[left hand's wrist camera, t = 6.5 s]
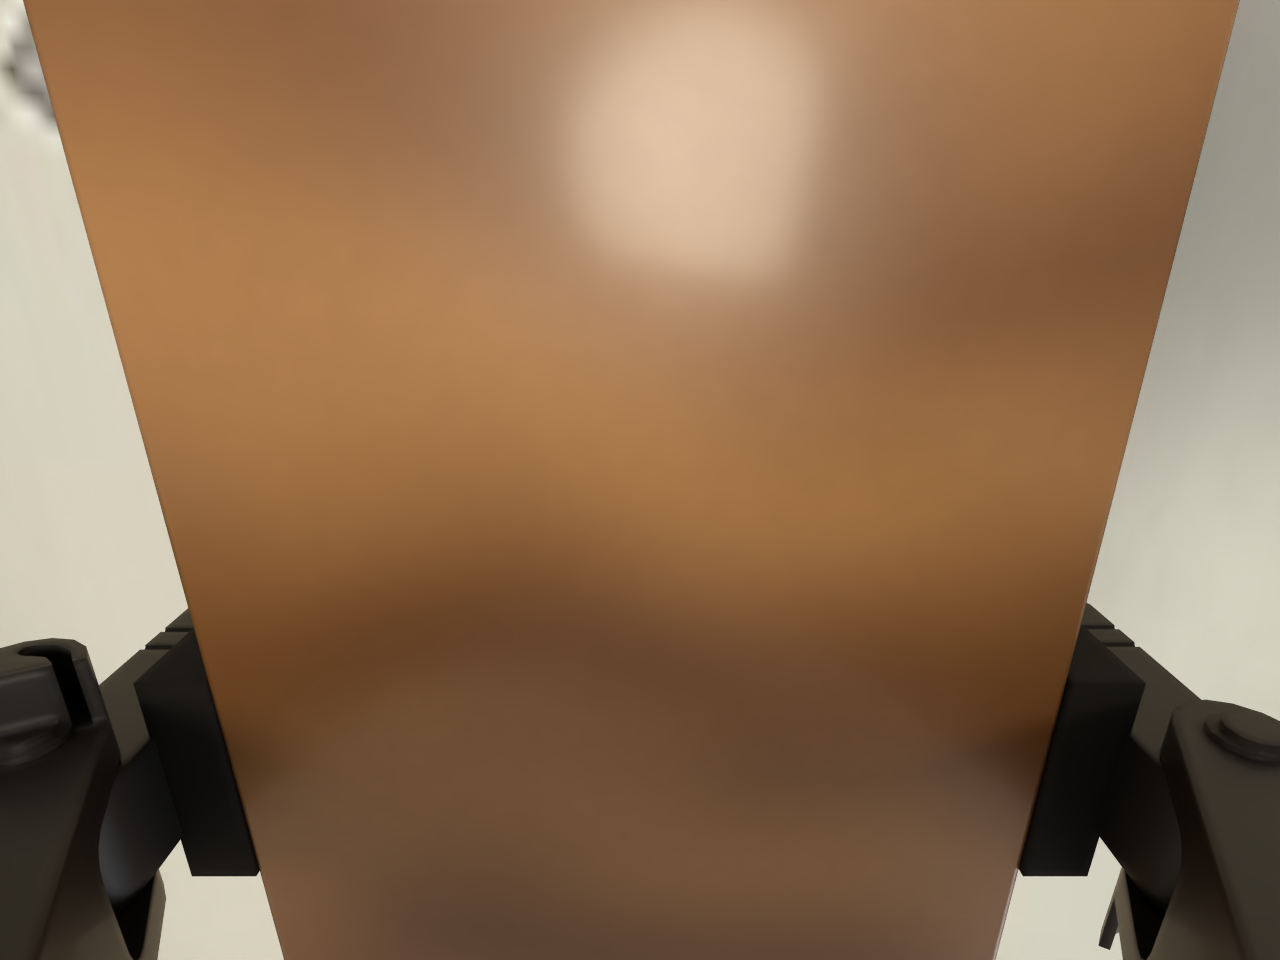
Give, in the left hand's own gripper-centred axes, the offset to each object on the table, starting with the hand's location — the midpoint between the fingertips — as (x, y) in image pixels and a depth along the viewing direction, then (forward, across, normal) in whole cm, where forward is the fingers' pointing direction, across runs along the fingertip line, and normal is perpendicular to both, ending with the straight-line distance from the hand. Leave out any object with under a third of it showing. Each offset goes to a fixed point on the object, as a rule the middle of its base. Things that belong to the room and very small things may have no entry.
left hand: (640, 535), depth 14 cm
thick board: (0, 0, -34) cm, 34 cm away
